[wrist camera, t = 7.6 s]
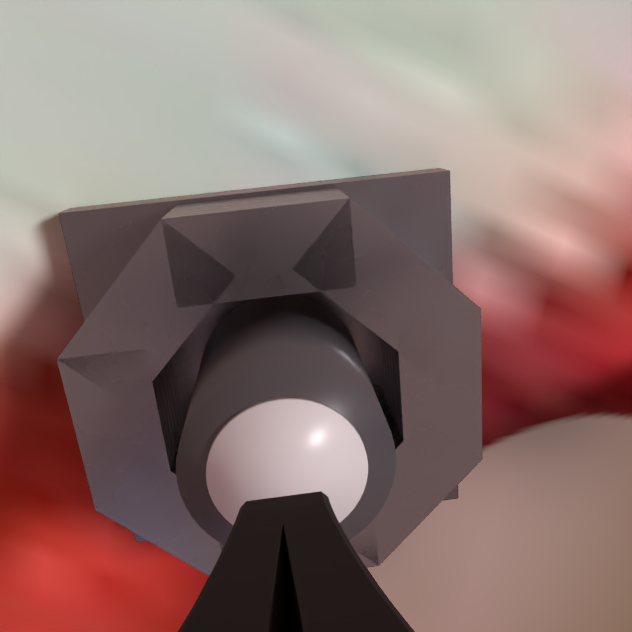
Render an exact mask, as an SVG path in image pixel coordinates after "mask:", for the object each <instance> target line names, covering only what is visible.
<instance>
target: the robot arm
mask: <svg viewBox="0 0 632 632" xmlns="http://www.w3.org/2000/svg"><path fill="white" fill-rule="evenodd" d="M178 632H414V630H413V629H412V628H411V627H410V626H409V624H408V623H407V622H406V621H405V619H404V618H403V617H402V615H401V614H400V613H399V612H398V610H397V609H396V608H395V607H394V605H393V604H392V603H391V602H390V600H389V599H388V597H387V596H386V595H385V594H384V592H383V591H382V589H381V588H380V587H379V585H378V584H377V582H376V581H375V579H374V578H373V577H372V575H371V574H370V572H369V571H368V569H367V568H366V566H365V565H364V563H363V562H362V560H361V559H360V557H359V556H358V554H357V553H356V551H355V550H354V548H353V546H352V545H351V543H350V541H349V540H348V538H347V536H346V534H345V533H344V531H343V529H342V527H341V525H340V523H339V522H338V520H337V518H336V516H335V513H334V511H333V509H332V506H331V504H330V501H329V498H328V496H327V495H325V494H324V493H323V492H321V491H319V492H312V493H304V494H297V495H289V496H281V497H274V498H266V499H259V500H251V501H246V502H245V503H244V504H243V505H242V506H241V508H240V509H239V512H238V515H237V518H236V520H235V523H234V525H233V528H232V530H231V532H230V535H229V537H228V539H227V541H226V544H225V546H224V548H223V550H222V552H221V554H220V556H219V558H218V560H217V562H216V564H215V566H214V568H213V570H212V572H211V574H210V576H209V578H208V580H207V582H206V583H205V585H204V587H203V589H202V591H201V593H200V595H199V597H198V599H197V600H196V602H195V604H194V606H193V608H192V609H191V611H190V613H189V614H188V616H187V618H186V619H185V621H184V623H183V624H182V626H181V628H180V629H179V631H178Z"/></svg>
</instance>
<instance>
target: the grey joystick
mask: <svg viewBox="0 0 632 632" xmlns="http://www.w3.org/2000/svg"><path fill="white" fill-rule="evenodd" d="M59 217H60V222H61V226H62V230H63V234H64V238H65V243H66V247H67V251H68V255H69V260H70V264H71V268H72V272H73V277H74V281H75V285H76V289H77V294H78V298H79V302H80V306H81V311H82V315H83V319H84V323H83V324H82V326H81V327H80V329H79V330H78V331H77V333H76V334H75V335H74V337H73V338H72V339H71V341H70V342H69V343H68V345H67V346H66V347H65V349H64V350H63V351H62V353H61V354H60V355H59V357H58V358H57V363H58V367H59V371H60V375H61V379H62V382H63V386H64V390H65V394H66V398H67V402H68V406H69V410H70V414H71V417H72V421H73V425H74V429H75V433H76V437H77V441H78V445H79V449H80V452H81V456H82V460H83V464H84V468H85V472H86V476H87V480H88V484H89V487H90V491H91V495H92V499H93V503H94V507H95V510H96V511H97V512H99V513H101V514H103V515H104V516H106V517H108V518H110V519H111V520H113V521H115V522H116V523H118V524H120V525H122V526H123V527H125V528H127V529H129V530H130V531H132V532H134V535H135V539H136V542H138V541H145V540H148V541H149V542H151V543H153V544H155V545H156V546H158V547H160V548H161V549H163V550H165V551H167V552H168V553H170V554H172V555H174V556H175V557H177V558H179V559H181V560H182V561H184V562H186V563H187V564H189V565H191V566H193V567H194V568H196V569H198V570H200V571H201V572H203V573H205V574H207V575H208V576H210V574H211V572H212V570H213V568H214V566H215V564H216V562H217V560H218V558H219V556H220V554H221V552H222V550H223V548H224V546H225V545H223V544H221V543H220V542H218V541H217V540H215V539H214V538H212V537H211V536H210V535H208V534H207V533H206V532H205V531H204V530H203V529H202V528H201V527H200V526H199V525H198V524H197V523H196V521H195V520H194V519H193V518H192V516H191V515H190V513H189V511H188V510H187V508H186V507H185V504H184V502H183V500H182V498H181V495H180V492H179V488H178V484H177V477H176V457H177V452H178V446H179V442H180V439H181V435H182V431H183V427H184V424H185V420H186V416H187V413H188V409H189V405H190V401H191V398H192V394H193V390H194V387H195V383H196V379H197V375H198V372H199V368H200V364H201V361H202V357H203V353H204V350H205V347H206V344H207V341H208V339H209V337H210V335H211V333H212V332H213V330H214V329H215V327H216V326H217V325H218V323H219V322H220V321H221V320H222V319H223V318H224V317H225V316H226V315H227V314H229V313H230V312H231V311H232V310H234V309H235V308H237V307H239V306H240V305H242V304H244V303H246V302H248V301H251V300H254V299H258V298H267V297H275V296H284V295H294V296H299V297H303V298H306V299H309V300H312V301H315V302H317V303H319V304H321V305H323V306H324V307H326V308H327V309H329V310H330V311H332V312H333V313H334V314H335V315H336V316H337V317H338V318H339V319H340V320H341V321H342V322H343V323H344V325H345V326H346V327H347V329H348V330H349V332H350V334H351V336H352V338H353V340H354V342H355V345H356V347H357V350H358V352H359V355H360V357H361V359H362V362H363V364H364V367H365V369H366V372H367V374H368V377H369V379H370V381H371V384H372V386H373V389H374V391H375V394H376V396H377V398H378V401H379V403H380V406H381V408H382V411H383V413H384V416H385V418H386V420H387V423H388V425H389V428H390V430H391V433H392V437H393V440H394V444H395V451H396V470H395V476H394V481H393V484H392V488H391V491H390V493H389V495H388V497H387V500H386V502H385V504H384V505H383V507H382V508H381V510H380V511H379V513H378V514H377V516H376V517H375V518H374V519H373V520H372V521H371V523H370V524H369V525H368V526H367V527H365V528H364V529H363V530H362V531H361V532H360V533H359V534H357V535H356V536H355V537H353V538H352V539H350V540H349V541H350V543H351V545H352V546H353V548H354V550H355V551H356V553H357V554H358V556H359V557H360V559H361V560H362V562H363V563H364V565H365V566H366V567H373V566H379V565H380V564H381V563H382V562H383V561H384V560H385V559H386V558H387V557H388V556H389V555H390V554H391V552H393V551H394V549H395V548H396V547H397V546H398V545H399V544H400V543H401V542H402V541H403V540H404V539H405V538H406V537H407V536H408V535H409V534H410V533H411V532H412V531H413V530H414V529H415V528H416V527H417V526H418V525H419V524H420V523H421V522H422V521H423V520H424V519H425V518H426V516H428V515H429V513H430V512H432V511H433V509H434V508H435V507H436V506H437V505H438V504H439V503H440V502H441V501H442V500H449V499H457V498H458V484H459V483H460V482H461V481H462V480H463V479H464V478H465V477H466V476H467V475H468V474H469V472H470V471H471V470H472V469H473V468H474V467H475V466H476V465H477V464H478V463H479V462H480V461H481V460H482V374H481V308H480V307H478V306H477V305H476V304H475V303H474V302H473V301H471V300H470V299H469V298H468V297H467V296H465V295H464V294H463V293H462V292H461V291H459V290H458V289H457V288H456V287H455V286H454V285H453V273H452V234H451V195H450V171H449V170H445V169H440V168H436V169H427V170H418V171H409V172H399V173H390V174H381V175H372V176H362V177H353V178H344V179H335V180H326V181H316V182H307V183H298V184H289V185H279V186H270V187H261V188H252V189H242V190H233V191H224V192H215V193H206V194H196V195H187V196H178V197H169V198H159V199H150V200H141V201H132V202H123V203H113V204H104V205H95V206H86V207H76V208H70V209H68V210H65V211H63V212H60V213H59Z"/></svg>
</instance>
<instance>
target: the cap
mask: <svg viewBox="0 0 632 632" xmlns="http://www.w3.org/2000/svg"><path fill="white" fill-rule="evenodd" d="M395 470H396V451H395V444H394V440H393V437H392V433H391V430H390V428H389V425H388V423H387V420H386V418H385V416H384V413H383V411H382V408H381V406H380V403H379V401H378V398H377V396H376V394H375V391H374V389H373V386H372V384H371V381H370V379H369V377H368V374H367V372H366V369H365V367H364V364H363V362H362V359H361V357H360V355H359V352H358V350H357V347H356V345H355V342H354V340H353V338H352V336H351V334H350V332H349V330H348V329H347V327H346V326H345V325H344V323H343V322H342V321H341V320H340V319H339V318H338V317H337V316H336V315H335V314H334V313H333V312H332V311H330V310H329V309H327V308H326V307H324V306H323V305H321V304H319V303H317V302H315V301H312V300H309V299H306V298H303V297H299V296H294V295H284V296H275V297H267V298H258V299H254V300H251V301H248V302H246V303H244V304H242V305H240V306H239V307H237V308H235V309H234V310H232V311H231V312H230V313H229V314H227V315H226V316H225V317H224V318H223V319H222V320H221V321H220V322H219V323H218V325H217V326H216V327H215V329H214V330H213V332H212V333H211V335H210V337H209V339H208V341H207V344H206V347H205V350H204V353H203V357H202V361H201V364H200V368H199V372H198V375H197V379H196V383H195V387H194V390H193V394H192V398H191V401H190V405H189V409H188V413H187V416H186V420H185V424H184V427H183V431H182V435H181V439H180V442H179V446H178V452H177V457H176V477H177V484H178V488H179V492H180V495H181V498H182V500H183V502H184V504H185V507H186V508H187V510H188V511H189V513H190V515H191V516H192V518H193V519H194V520H195V521H196V523H197V524H198V525H199V526H200V527H201V528H202V529H203V530H204V531H205V532H206V533H207V534H208V535H210V536H211V537H212V538H214V539H215V540H217V541H218V542H220V543H221V544H223V545H225V544H226V541H227V539H228V537H229V535H230V532H231V530H232V528H233V525H234V523H235V520H236V518H237V515H238V512H239V509H240V508H241V506H242V505H243V504H244V503H245V502H246V501H251V500H259V499H266V498H274V497H281V496H289V495H297V494H304V493H312V492H319V491H321V492H323V493H324V494H325V495H327V496H328V498H329V501H330V504H331V506H332V509H333V511H334V513H335V516H336V518H337V520H338V522H339V523H340V525H341V527H342V529H343V531H344V533H345V534H346V536H347V538H348V540H350V539H352V538H353V537H355V536H356V535H357V534H359V533H360V532H361V531H362V530H363V529H364V528H365V527H367V526H368V525H369V524H370V523H371V521H372V520H373V519H374V518H375V517H376V516H377V514H378V513H379V511H380V510H381V508H382V507H383V505H384V504H385V502H386V500H387V497H388V495H389V493H390V491H391V488H392V484H393V481H394V476H395Z"/></svg>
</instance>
